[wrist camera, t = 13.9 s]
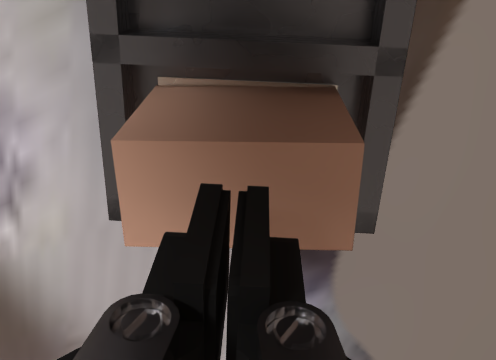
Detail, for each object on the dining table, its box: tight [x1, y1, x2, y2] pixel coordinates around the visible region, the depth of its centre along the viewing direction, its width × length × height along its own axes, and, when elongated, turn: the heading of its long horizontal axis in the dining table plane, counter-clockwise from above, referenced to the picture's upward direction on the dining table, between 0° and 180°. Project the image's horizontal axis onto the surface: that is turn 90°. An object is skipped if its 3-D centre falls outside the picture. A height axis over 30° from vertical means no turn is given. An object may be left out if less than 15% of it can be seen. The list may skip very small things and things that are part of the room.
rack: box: [86, 0, 417, 234], centre depth 13 cm, size 11×14×12 cm
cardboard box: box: [111, 85, 365, 251], centre depth 16 cm, size 7×4×6 cm, turn 90°
